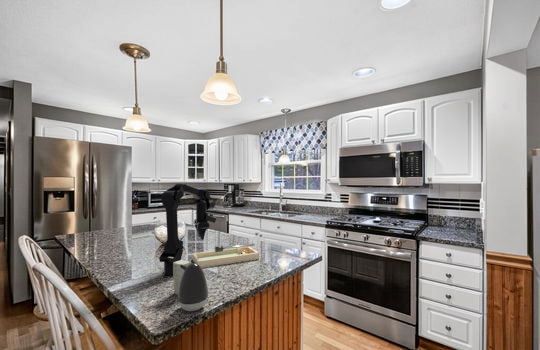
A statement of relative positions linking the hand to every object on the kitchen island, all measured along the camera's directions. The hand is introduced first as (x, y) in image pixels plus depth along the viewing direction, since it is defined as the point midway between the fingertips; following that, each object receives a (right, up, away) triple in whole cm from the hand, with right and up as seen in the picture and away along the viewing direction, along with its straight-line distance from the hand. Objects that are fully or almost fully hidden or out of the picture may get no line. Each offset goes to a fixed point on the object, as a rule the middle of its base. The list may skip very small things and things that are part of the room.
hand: (201, 238), depth 144 cm
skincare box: (+5, -11, -45) cm, 46 cm away
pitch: (+14, -12, -2) cm, 19 cm away
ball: (+25, -10, +4) cm, 27 cm away
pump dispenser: (+13, -10, -57) cm, 59 cm away
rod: (+19, -10, +2) cm, 22 cm away
